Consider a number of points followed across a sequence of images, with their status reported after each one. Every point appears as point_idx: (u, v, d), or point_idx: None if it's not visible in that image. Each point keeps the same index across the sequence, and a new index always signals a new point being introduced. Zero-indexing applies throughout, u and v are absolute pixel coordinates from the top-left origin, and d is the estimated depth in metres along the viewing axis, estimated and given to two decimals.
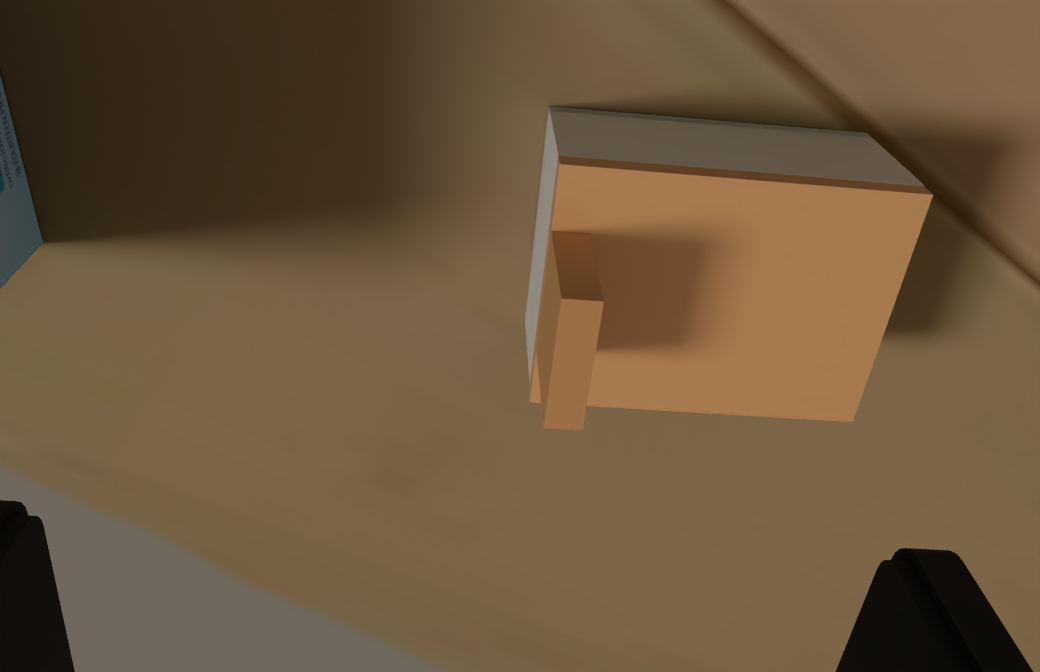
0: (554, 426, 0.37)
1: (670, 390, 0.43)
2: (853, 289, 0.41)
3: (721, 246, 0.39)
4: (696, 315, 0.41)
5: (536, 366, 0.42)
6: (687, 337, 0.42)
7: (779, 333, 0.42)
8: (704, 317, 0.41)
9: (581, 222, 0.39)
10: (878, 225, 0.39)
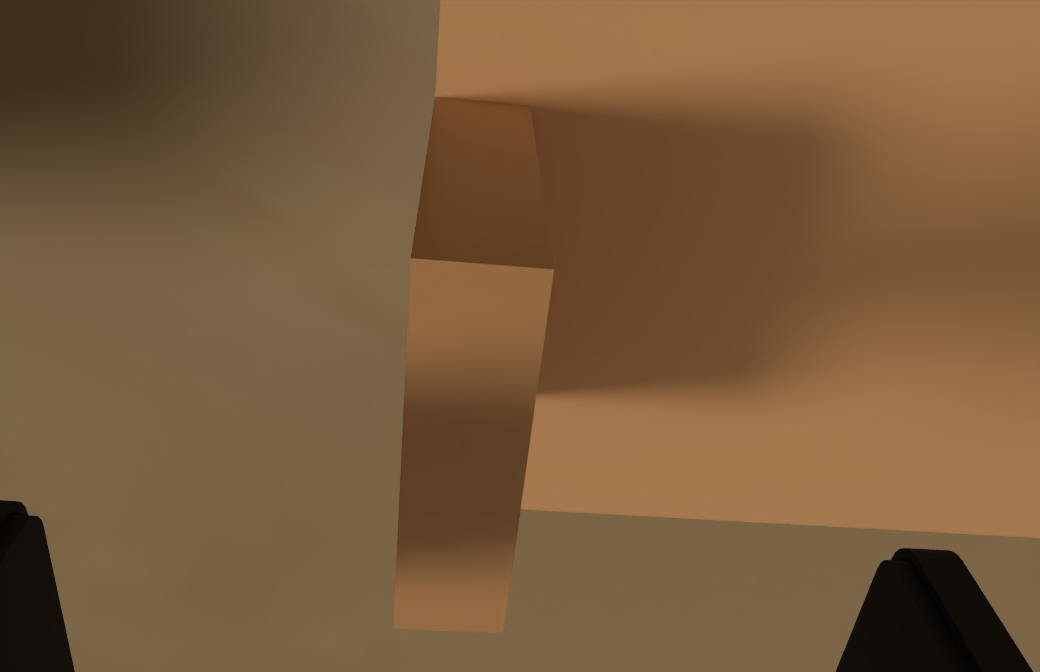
0: (424, 621, 0.13)
1: (721, 479, 0.20)
2: None
3: (863, 144, 0.16)
4: (788, 315, 0.18)
5: None
6: (765, 365, 0.18)
7: (974, 357, 0.18)
8: (807, 319, 0.18)
9: (513, 75, 0.15)
10: None
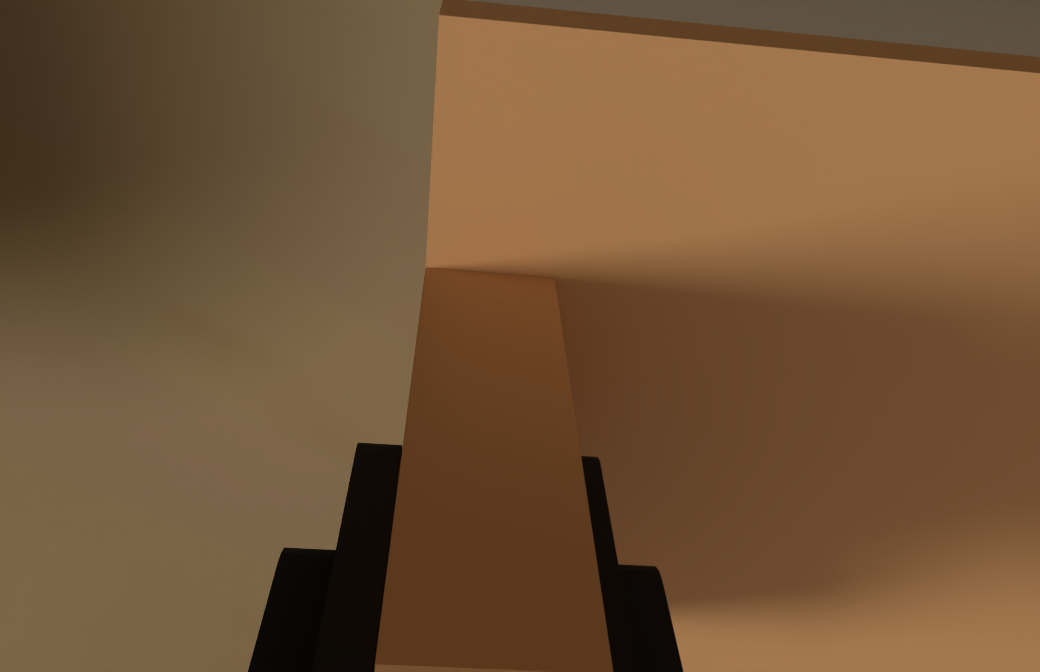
0: None
1: None
2: None
3: (998, 319, 0.12)
4: (887, 521, 0.14)
5: None
6: (855, 579, 0.14)
7: None
8: (910, 525, 0.14)
9: (531, 239, 0.11)
10: None
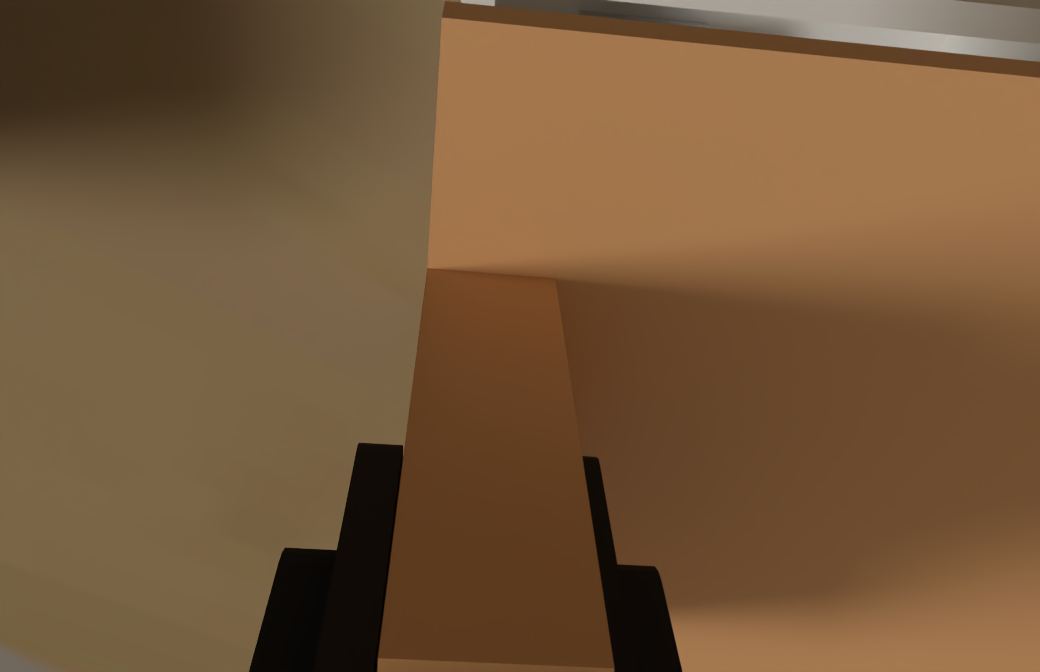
0: None
1: None
2: None
3: (996, 321, 0.12)
4: (885, 523, 0.14)
5: None
6: (854, 581, 0.14)
7: None
8: (910, 527, 0.14)
9: (532, 240, 0.11)
10: None
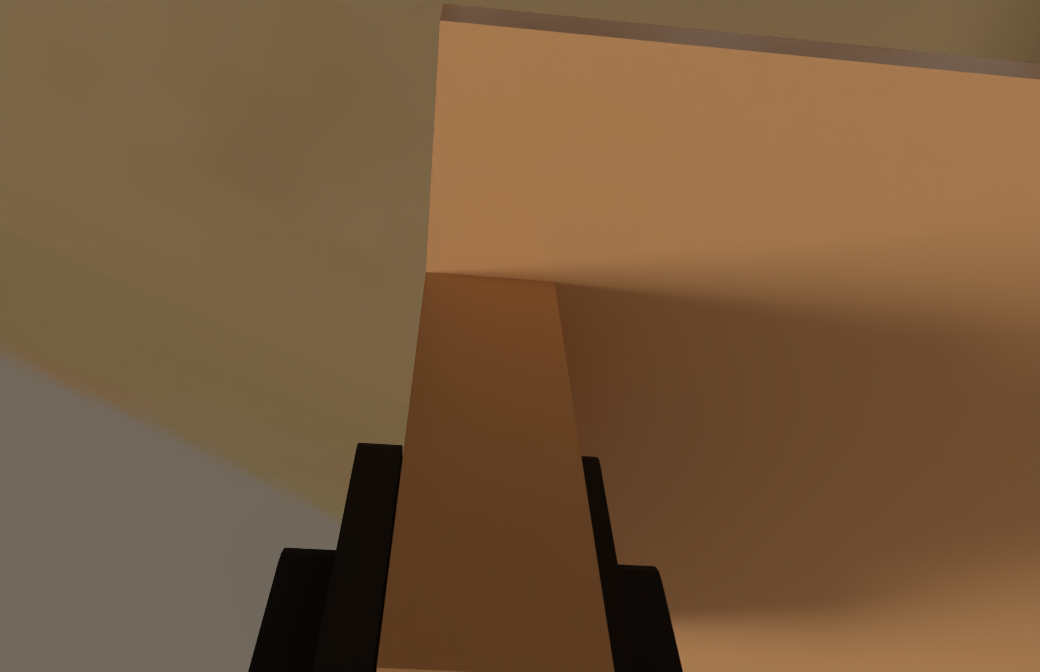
0: None
1: None
2: None
3: (997, 324, 0.12)
4: (886, 527, 0.14)
5: None
6: (855, 584, 0.14)
7: None
8: (910, 531, 0.14)
9: (531, 244, 0.11)
10: None
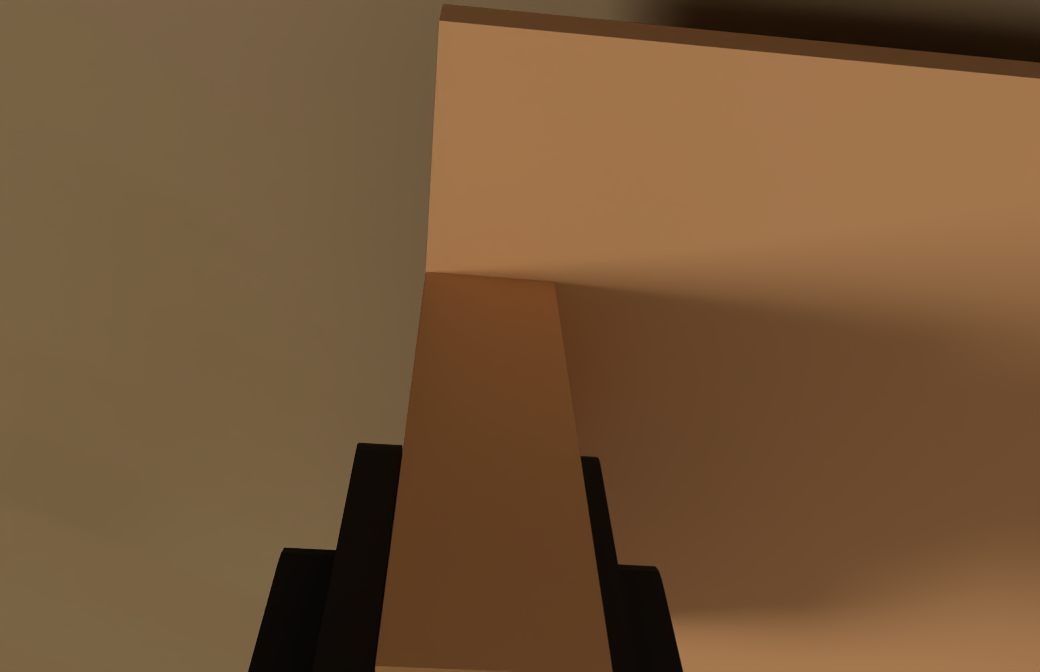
0: None
1: None
2: None
3: (997, 323, 0.12)
4: (886, 526, 0.14)
5: None
6: (855, 583, 0.14)
7: None
8: (910, 529, 0.14)
9: (531, 243, 0.11)
10: None
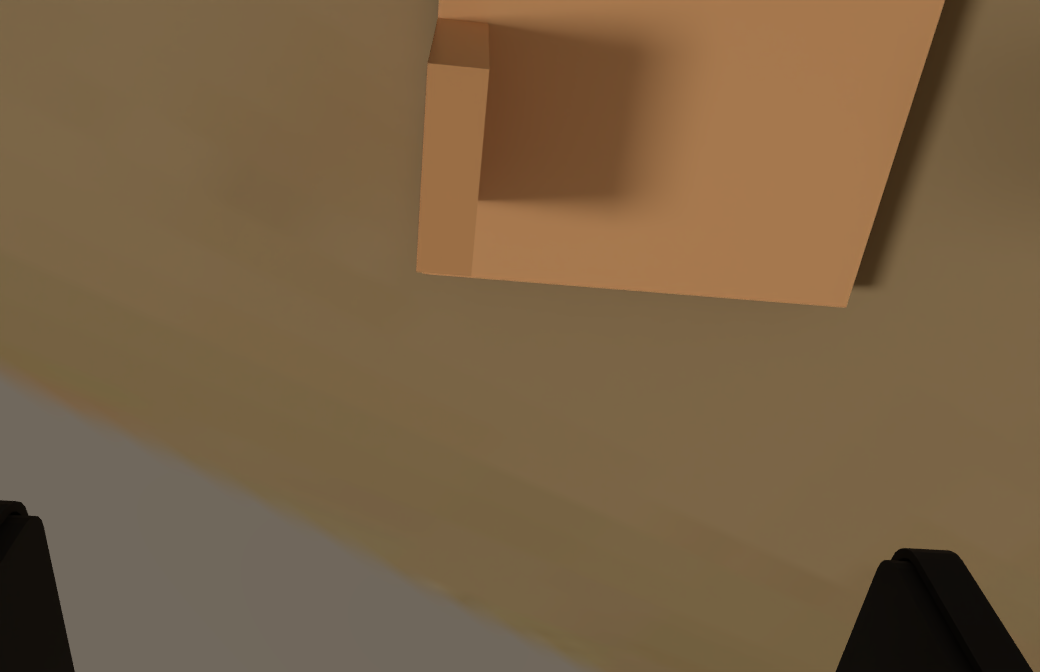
0: (431, 270, 0.27)
1: (607, 259, 0.33)
2: (846, 113, 0.31)
3: (669, 46, 0.29)
4: (638, 149, 0.31)
5: None
6: (628, 182, 0.32)
7: (749, 177, 0.32)
8: (649, 152, 0.31)
9: (479, 5, 0.28)
10: (880, 17, 0.29)
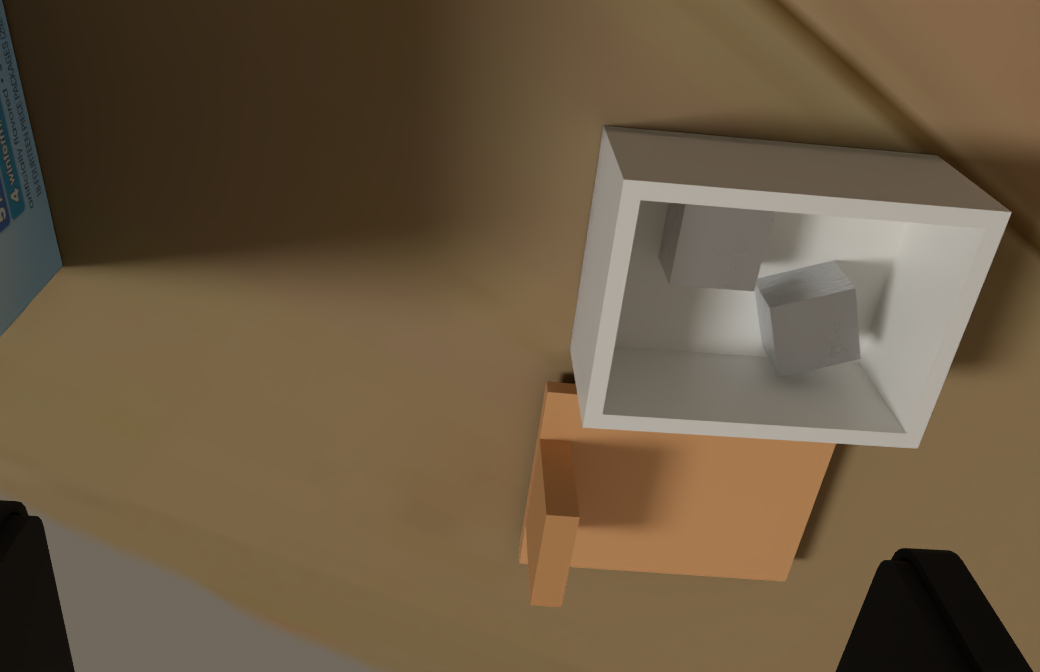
0: (538, 603, 0.46)
1: (635, 556, 0.53)
2: (783, 484, 0.50)
3: (676, 451, 0.49)
4: (656, 501, 0.51)
5: (525, 536, 0.52)
6: (649, 517, 0.51)
7: (724, 515, 0.51)
8: (663, 502, 0.51)
9: (564, 433, 0.48)
10: None
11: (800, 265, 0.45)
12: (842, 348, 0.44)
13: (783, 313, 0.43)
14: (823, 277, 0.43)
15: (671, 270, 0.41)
